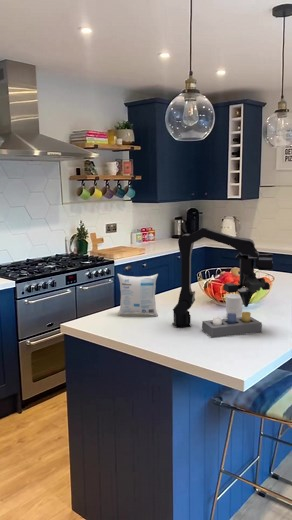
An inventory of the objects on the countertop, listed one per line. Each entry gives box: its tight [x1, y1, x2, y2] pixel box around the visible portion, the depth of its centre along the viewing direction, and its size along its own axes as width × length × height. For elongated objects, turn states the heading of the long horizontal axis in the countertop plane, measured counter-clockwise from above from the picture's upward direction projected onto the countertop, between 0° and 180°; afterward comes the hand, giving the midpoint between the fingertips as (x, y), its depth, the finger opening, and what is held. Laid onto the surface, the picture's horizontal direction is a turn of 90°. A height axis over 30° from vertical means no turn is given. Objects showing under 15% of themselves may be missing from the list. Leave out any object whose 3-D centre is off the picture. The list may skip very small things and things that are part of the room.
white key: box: [212, 317, 223, 326], centre depth 186 cm, size 4×4×4 cm
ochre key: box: [241, 311, 252, 323], centre depth 189 cm, size 4×4×4 cm
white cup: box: [225, 293, 244, 318], centre depth 207 cm, size 8×8×10 cm
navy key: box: [226, 313, 236, 324], centre depth 187 cm, size 4×4×4 cm
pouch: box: [117, 273, 159, 317], centre depth 212 cm, size 8×19×20 cm, turn 79°
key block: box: [201, 316, 263, 339], centre depth 188 cm, size 22×10×4 cm, turn 106°
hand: (246, 306), depth 188 cm, fingers closed
